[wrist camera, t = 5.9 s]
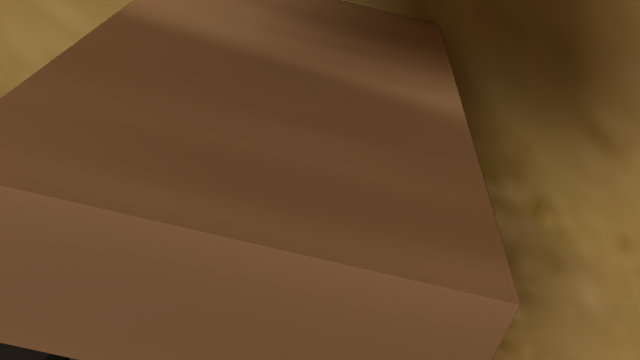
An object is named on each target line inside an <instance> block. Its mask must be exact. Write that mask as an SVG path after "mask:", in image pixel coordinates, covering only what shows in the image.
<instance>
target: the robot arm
mask: <svg viewBox="0 0 640 360" xmlns="http://www.w3.org/2000/svg"><path fill="white" fill-rule="evenodd" d="M69 359H70V358H68V357H64V356H59V355H55V354H50V353H45V352H41V351H36V350H32V349H27V348H23V347H18V346H14V345H9V344H4V343H0V360H69Z"/></svg>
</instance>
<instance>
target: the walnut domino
mask: <svg viewBox="0 0 640 360" xmlns="http://www.w3.org/2000/svg"><path fill="white" fill-rule="evenodd" d="M519 307H520V301H519V298H518V294H517V291H516V288H515V284H514V281H513V277H512V274H511V270H510V267H509V264H508V260H507V257H506V253H505V250H504V247H503V243H502V240H501V236H500V233H499V229H498V226H497V223H496V219H495V216H494V212H493V209H492V205H491V202H490V199H489V195H488V192H487V188H486V185H485V182H484V178H483V175H482V171H481V168H480V164H479V161H478V158H477V154H476V151H475V147H474V144H473V141H472V137H471V134H470V130H469V127H468V123H467V120H466V117H465V113H464V110H463V106H462V103H461V100H460V96H459V93H458V89H457V86H456V82H455V79H454V76H453V72H452V69H451V65H450V62H449V58H448V55H447V52H446V48H445V45H444V41H443V38H442V35H441V31H440V28H439V25H437V24H433V23H429V22H425V21H421V20H417V19H413V18H409V17H405V16H401V15H397V14H393V13H389V12H385V11H381V10H377V9H373V8H369V7H365V6H361V5H357V4H353V3H349V2H345V1H340V0H133V1H132V2H130V3H129V4H128V5H126V6H125V7H124V8H122V9H121V10H120V11H118V12H117V13H116V14H114V15H113V16H112V17H110V18H109V19H107V20H106V21H105V22H103V23H102V24H101V25H99V26H98V27H97V28H95V29H94V30H93V31H91V32H90V33H89V34H87V35H86V36H84V37H83V38H82V39H80V40H79V41H78V42H76V43H75V44H74V45H72V46H71V47H70V48H68V49H67V50H66V51H64V52H63V53H61V54H60V55H59V56H57V57H56V58H55V59H53V60H52V61H51V62H49V63H48V64H47V65H45V66H44V67H43V68H41V69H40V70H38V71H37V72H36V73H34V74H33V75H32V76H30V77H29V78H28V79H26V80H25V81H24V82H22V83H21V84H20V85H18V86H17V87H15V88H14V89H13V90H11V91H10V92H9V93H7V94H6V95H5V96H3V97H2V98H1V99H0V343H4V344H9V345H14V346H18V347H23V348H27V349H32V350H36V351H41V352H45V353H50V354H55V355H59V356H64V357H68V358H73V359H77V360H492V358H493V356H494V354H495V352H496V350H497V348H498V347H499V345H500V343H501V341H502V339H503V337H504V335H505V333H506V331H507V330H508V328H509V326H510V324H511V322H512V320H513V318H514V316H515V315H516V313H517V311H518V309H519Z"/></svg>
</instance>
